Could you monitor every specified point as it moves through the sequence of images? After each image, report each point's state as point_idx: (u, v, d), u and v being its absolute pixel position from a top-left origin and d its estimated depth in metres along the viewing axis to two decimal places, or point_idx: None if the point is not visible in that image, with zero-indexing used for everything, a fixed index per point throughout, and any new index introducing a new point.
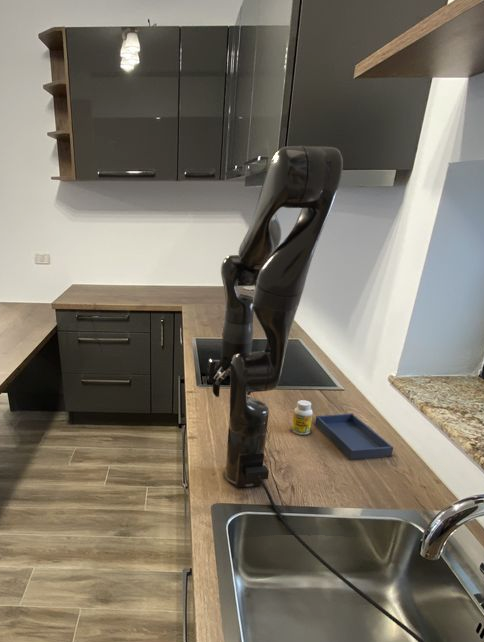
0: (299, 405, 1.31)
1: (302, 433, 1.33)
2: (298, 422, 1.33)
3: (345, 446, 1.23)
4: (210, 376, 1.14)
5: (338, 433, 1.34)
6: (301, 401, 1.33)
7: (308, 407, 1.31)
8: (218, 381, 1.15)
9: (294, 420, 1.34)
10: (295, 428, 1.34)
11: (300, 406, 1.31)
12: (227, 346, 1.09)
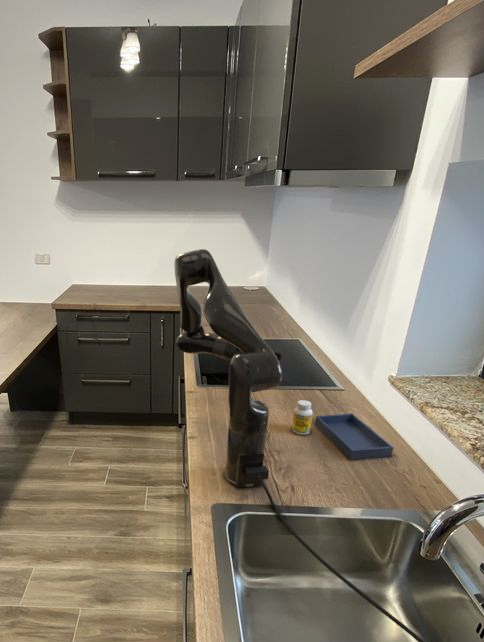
0: (299, 405, 1.31)
1: (302, 433, 1.33)
2: (298, 422, 1.33)
3: (345, 446, 1.23)
4: None
5: (338, 433, 1.34)
6: (301, 401, 1.33)
7: (308, 407, 1.31)
8: None
9: (294, 420, 1.34)
10: (295, 428, 1.34)
11: (300, 406, 1.31)
12: (228, 345, 1.40)
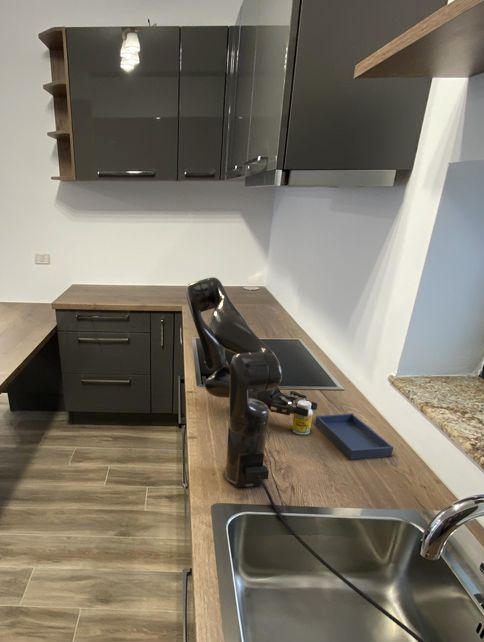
0: (299, 405, 1.31)
1: (302, 433, 1.33)
2: (298, 422, 1.33)
3: (345, 446, 1.23)
4: (284, 406, 1.31)
5: (338, 433, 1.34)
6: (301, 401, 1.33)
7: (308, 407, 1.31)
8: (293, 405, 1.31)
9: (294, 420, 1.34)
10: (295, 428, 1.34)
11: (300, 406, 1.31)
12: (261, 392, 1.38)
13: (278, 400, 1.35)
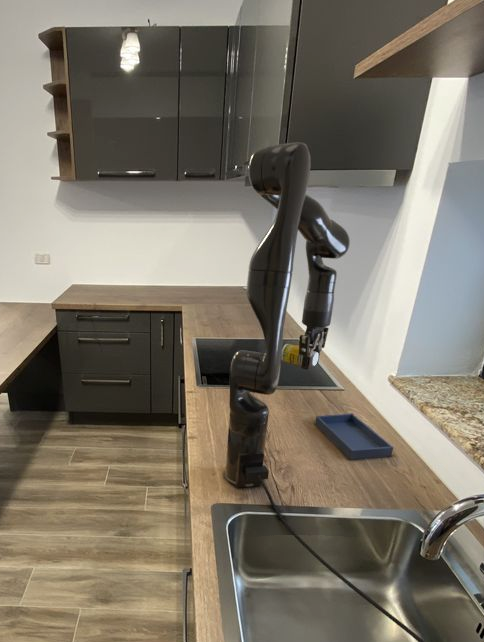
0: (311, 358, 1.24)
1: (282, 359, 1.30)
2: (293, 356, 1.27)
3: (345, 446, 1.23)
4: (307, 350, 1.20)
5: (338, 433, 1.34)
6: (316, 355, 1.25)
7: (311, 365, 1.26)
8: (311, 353, 1.22)
9: (294, 351, 1.27)
10: (286, 353, 1.28)
11: None
12: (320, 315, 1.18)
13: (314, 335, 1.21)
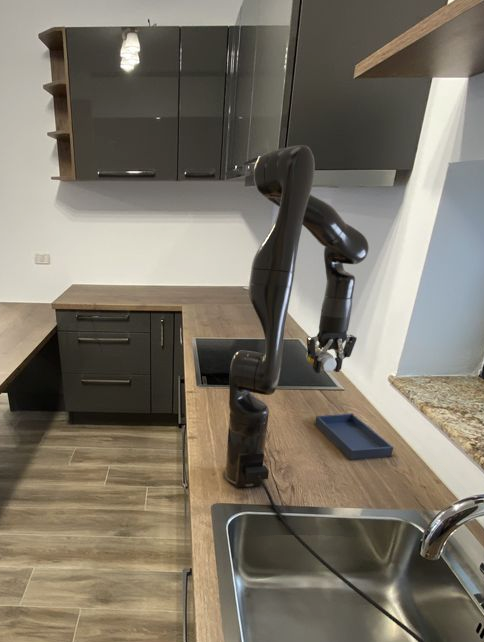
0: (323, 362, 1.24)
1: None
2: None
3: (345, 446, 1.23)
4: (312, 353, 1.22)
5: (338, 433, 1.34)
6: (331, 361, 1.24)
7: (324, 370, 1.25)
8: (320, 357, 1.23)
9: None
10: None
11: (322, 364, 1.24)
12: (328, 320, 1.18)
13: (324, 340, 1.21)
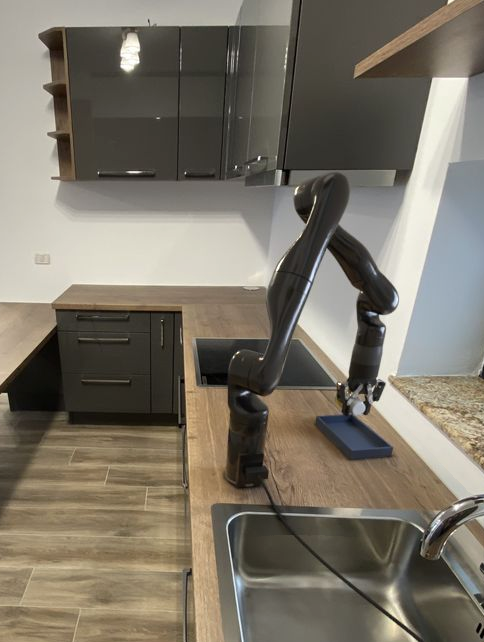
0: (352, 406, 1.26)
1: (335, 401, 1.34)
2: None
3: (345, 446, 1.23)
4: (342, 398, 1.24)
5: (338, 433, 1.34)
6: (360, 405, 1.25)
7: None
8: (349, 402, 1.25)
9: None
10: (336, 396, 1.32)
11: (351, 408, 1.26)
12: (358, 367, 1.20)
13: (354, 385, 1.23)
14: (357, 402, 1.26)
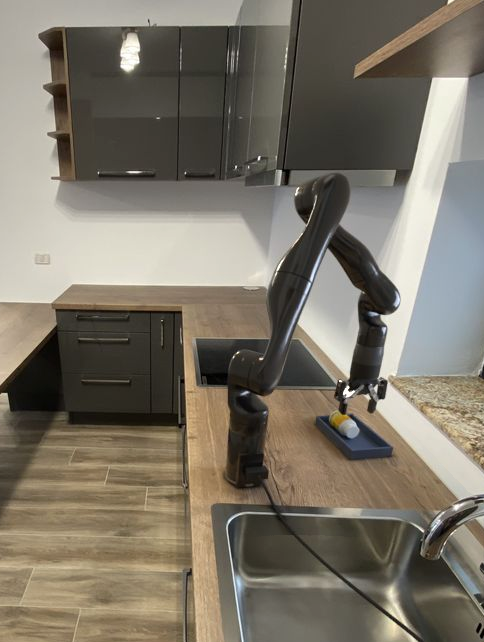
0: (346, 431, 1.29)
1: None
2: (334, 425, 1.34)
3: (345, 446, 1.23)
4: (340, 395, 1.23)
5: (338, 433, 1.34)
6: (353, 429, 1.28)
7: None
8: (347, 400, 1.24)
9: (336, 421, 1.33)
10: (331, 420, 1.36)
11: (345, 432, 1.29)
12: (359, 367, 1.19)
13: (355, 386, 1.22)
14: (350, 426, 1.28)
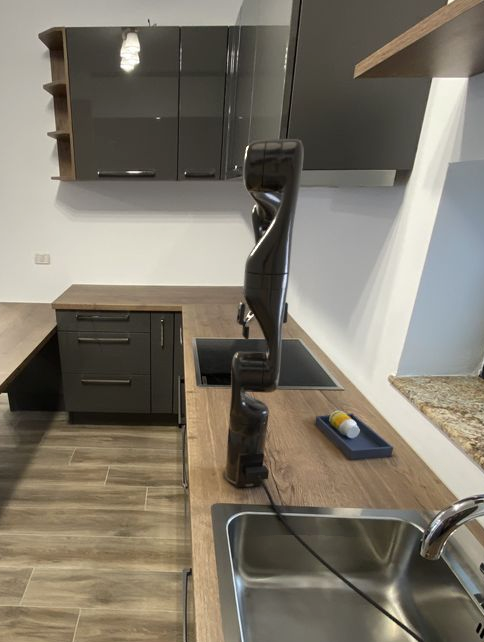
0: (346, 430, 1.29)
1: (331, 424, 1.37)
2: (335, 424, 1.34)
3: (345, 446, 1.23)
4: (241, 318, 1.25)
5: (338, 433, 1.34)
6: (354, 428, 1.28)
7: None
8: (248, 323, 1.25)
9: (336, 420, 1.33)
10: (331, 420, 1.36)
11: (345, 432, 1.29)
12: None
13: None
14: (351, 426, 1.29)
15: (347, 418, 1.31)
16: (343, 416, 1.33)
